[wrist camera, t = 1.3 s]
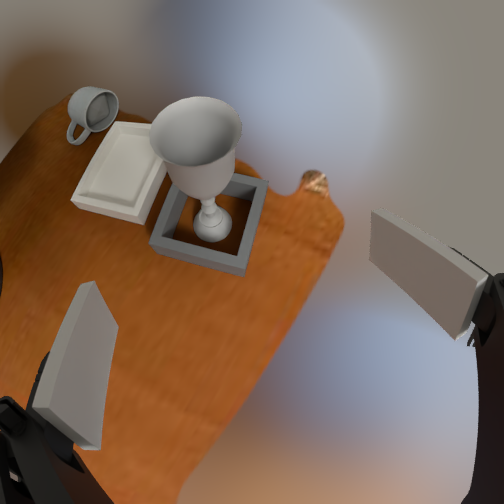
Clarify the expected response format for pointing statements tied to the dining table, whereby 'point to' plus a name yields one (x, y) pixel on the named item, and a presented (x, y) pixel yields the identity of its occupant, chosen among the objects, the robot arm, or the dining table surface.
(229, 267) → the charcoal collar
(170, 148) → the chalice
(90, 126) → the ceramic mug
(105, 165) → the off-white tray
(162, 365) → the dining table surface
